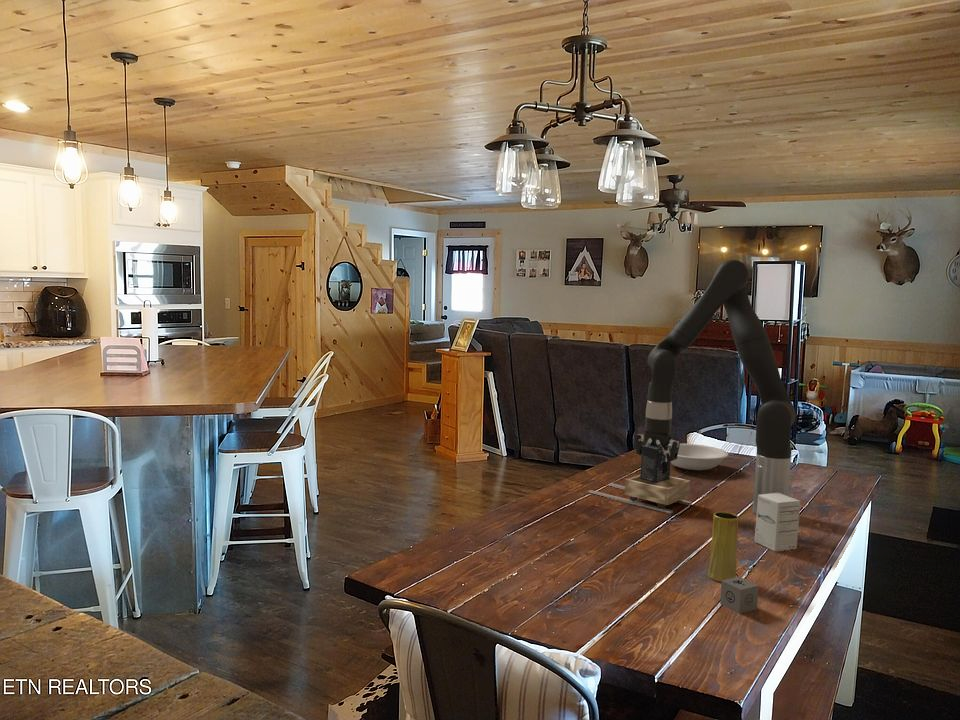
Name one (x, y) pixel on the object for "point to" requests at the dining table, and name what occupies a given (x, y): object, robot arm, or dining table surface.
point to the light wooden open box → (657, 490)
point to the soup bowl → (698, 457)
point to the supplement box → (777, 521)
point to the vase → (723, 546)
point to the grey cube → (739, 594)
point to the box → (653, 464)
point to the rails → (636, 501)
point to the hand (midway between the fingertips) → (655, 471)
